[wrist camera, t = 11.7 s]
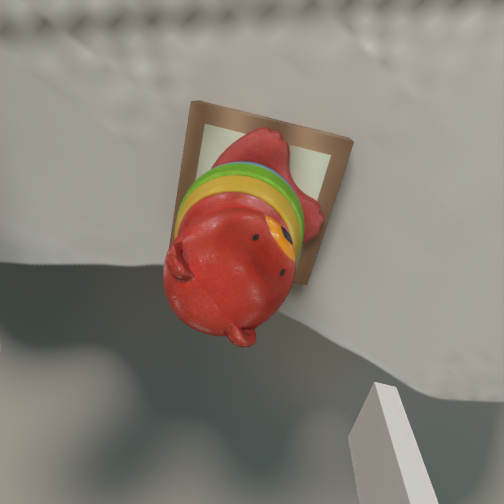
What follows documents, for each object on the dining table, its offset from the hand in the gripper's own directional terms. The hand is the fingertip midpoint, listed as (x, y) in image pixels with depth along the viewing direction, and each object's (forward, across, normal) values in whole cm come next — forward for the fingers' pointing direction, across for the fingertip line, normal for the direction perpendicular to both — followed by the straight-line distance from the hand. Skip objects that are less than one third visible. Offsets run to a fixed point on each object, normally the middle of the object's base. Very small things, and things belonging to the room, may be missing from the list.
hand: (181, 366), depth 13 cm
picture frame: (+26, +1, 0) cm, 26 cm away
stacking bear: (+23, +1, 0) cm, 23 cm away
